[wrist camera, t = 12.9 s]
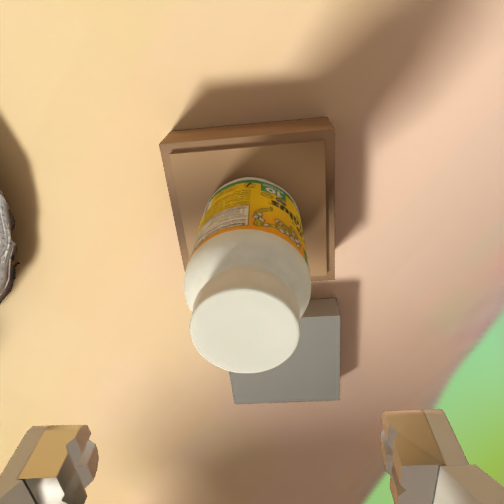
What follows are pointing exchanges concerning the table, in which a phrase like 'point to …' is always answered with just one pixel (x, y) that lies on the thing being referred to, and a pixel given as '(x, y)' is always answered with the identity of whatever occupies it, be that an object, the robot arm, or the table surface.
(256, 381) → the slate coaster
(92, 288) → the table surface
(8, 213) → the food plate
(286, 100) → the table surface
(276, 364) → the supplement bottle
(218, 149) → the walnut riser
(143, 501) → the table surface
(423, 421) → the robot arm
